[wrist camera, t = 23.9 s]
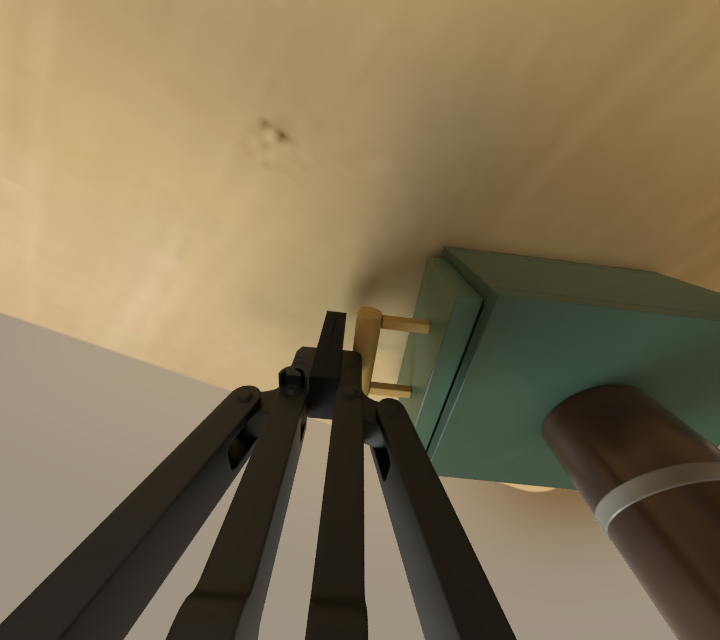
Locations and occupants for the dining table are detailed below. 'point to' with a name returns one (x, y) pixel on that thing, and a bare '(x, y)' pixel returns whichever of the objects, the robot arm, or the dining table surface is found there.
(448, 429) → the cabinet
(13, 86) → the dining table surface
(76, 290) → the dining table surface
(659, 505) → the pepper mill
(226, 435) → the robot arm
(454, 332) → the drawer
